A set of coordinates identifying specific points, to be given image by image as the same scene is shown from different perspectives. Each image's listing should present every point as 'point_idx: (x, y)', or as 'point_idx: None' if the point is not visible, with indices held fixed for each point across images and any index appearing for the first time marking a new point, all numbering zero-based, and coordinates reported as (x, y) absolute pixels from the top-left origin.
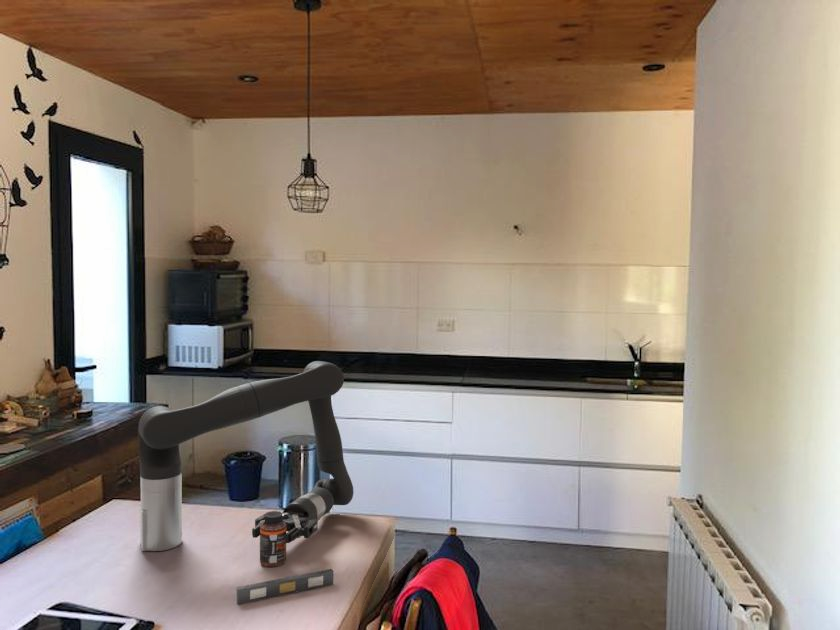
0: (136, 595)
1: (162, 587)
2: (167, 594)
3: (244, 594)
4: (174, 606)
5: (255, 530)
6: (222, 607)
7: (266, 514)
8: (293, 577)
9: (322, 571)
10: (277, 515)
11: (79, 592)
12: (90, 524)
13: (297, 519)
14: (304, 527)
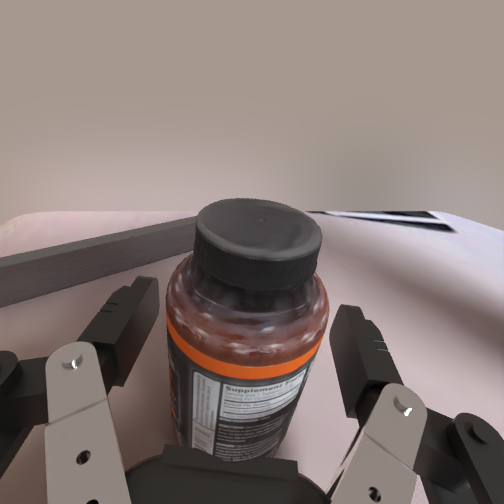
0: (394, 245)
1: (387, 262)
2: (356, 249)
3: None
4: None
5: (340, 308)
6: None
7: (296, 214)
8: (109, 238)
9: (7, 262)
10: (218, 207)
11: (471, 246)
12: None
13: (70, 485)
14: (13, 357)
